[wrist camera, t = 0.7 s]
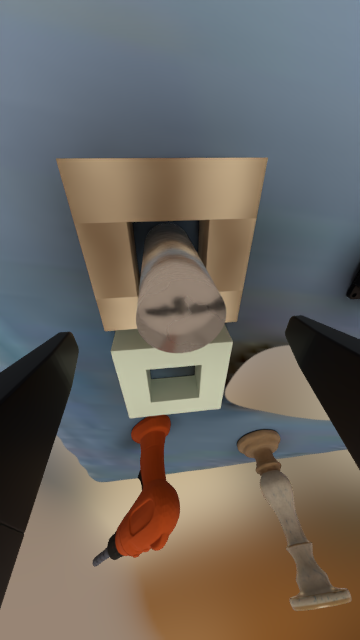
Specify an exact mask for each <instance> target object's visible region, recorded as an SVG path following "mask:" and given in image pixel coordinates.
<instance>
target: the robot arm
mask: <svg viewBox="0 0 360 640" xmlns="http://www.w3.org/2000/svg"><path fill="white" fill-rule="evenodd" d="M347 297H348V298H350V299H360V271H359V273H358V275H357V276H356V278H355V280H354V282H353V284H352V286H351V288H350V290H349V292H348V293H347ZM285 336H286V338H287V341H288V343H289V345H290V347H291V349H292V352H293V354H294V356H295V358H296V361H297V363H298V365H299V367H300V369H301V371H302V372H303V374H304V376H305V377H306V379H307V381H308V382H309V384H310V386H311V388H312V389H313V391H314V393H315V394H316V396H317V398H318V400H319V401H320V403H321V405H322V406H323V408H324V410H325V412H326V413H327V415H328V417H329V418H330V420H331V422H332V424H333V425H334V427H335V429H336V430H337V432H338V434H339V436H340V437H341V439H342V441H343V442H344V444H345V446H346V447H347V449H348V451H349V453H350V454H351V456H352V458H353V459H354V461H355V463H356V464H357V466H358V468H359V470H360V339H357V338H355V337H352V336H350V335H348V334H345V333H343V332H341V331H338V330H336V329H333V328H331V327H329V326H326V325H324V324H321V323H319V322H317V321H314V320H312V319H309V318H307V317H305V316H301V315H300V316H292V317H291V318H290V320H289V323H288V325H287V328H286V331H285ZM78 353H79V349H78V346H77V343H76V341H75V338H74V336H73V334H72V333H71V332H60V333H58V334H56V335H55V336H54V337H52V338H51V339H49V340H48V341H46V342H45V343H43V344H42V345H40V346H39V347H37V348H36V349H34V350H33V351H31V352H30V353H28V354H27V355H25V356H24V357H23V358H21V359H20V360H18V361H17V362H15V363H14V364H12V365H11V366H9V367H8V368H6V369H5V370H3V371H2V372H0V608H1V605H2V602H3V599H4V595H5V592H6V589H7V586H8V583H9V580H10V577H11V573H12V571H13V568H14V565H15V562H16V558H17V555H18V552H19V549H20V546H21V543H22V540H23V537H24V532H25V530H26V527H27V524H28V520H29V517H30V514H31V511H32V508H33V505H34V502H35V499H36V496H37V493H38V490H39V487H40V484H41V481H42V478H43V474H44V471H45V468H46V465H47V462H48V459H49V456H50V453H51V450H52V447H53V443H54V440H55V437H56V434H57V431H58V428H59V425H60V422H61V419H62V416H63V413H64V410H65V407H66V404H67V400H68V397H69V394H70V391H71V388H72V383H73V378H74V373H75V368H76V363H77V358H78Z"/></svg>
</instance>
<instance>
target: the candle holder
mask: <svg viewBox="0 0 360 640" xmlns="http://www.w3.org/2000/svg"><path fill="white" fill-rule="evenodd" d="M279 442H280V436H279V435H278V433H277V432H275V431H273V430H259V431H255V432H252V433H249V434H247V435H245V436H243V437H242V438H241V439H240V440H239V441H238V443H237V447H238V450H239V451H240V452H241V453H243V454H245V455H246V456H247V457H250V458H255V459H256V463H257V464H256V465H257V467H256V472H257V473H258V474H260V475H261V479H260V489H261V492H262V494H263V496H264V498H265V499H266V501H267V502H268V503H269V505H270V506H271V507H272V509H273V510H274V512H275V513H276V515H277V517H278V519H279V521H280V523H281V526H282V528H283V531H284V533H285V536H286V539H287V542H288V546H287V547H286V549H287V550H288V552H289V553H290V554H291V555H292V557H293V558H294V560H295V563H296V566H297V576H296V581H297V584H298V586H299V589H300V593H299V594H298V595H297V596H294V597H292V598H290V603H291V606H292V608H293V609H294V610H296V611H301V610H311V609H318V608H324V607H329V606H335V605H339V604H344V603H348V602H350V601H351V596H350V593H349V591H348V589H346V588H335V587H333V586H332V585H331V584H330V582H329V579H328V576H327V574H326V573H325V572H324V571H323V570H322V569H321V568H320V567H319V566H318V565H317V563H316V561H315V560H314V557H313V553H312V542H310V541H308V540H307V539H306V537H305V535H304V533H303V530H302V528H301V525H300V523H299V520H298V517H297V514H296V510H295V505H294V494H293V487H292V484H291V482H290V480H289V479H288V478H287V476H286V475H284V474H283V473H282V472H280V468H281V464H280V463H279V462H278V461H277V460H276V459H275V458H274V456H273V454H272V453H273V452H275V451H276V450H277V448H278V444H279Z"/></svg>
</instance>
